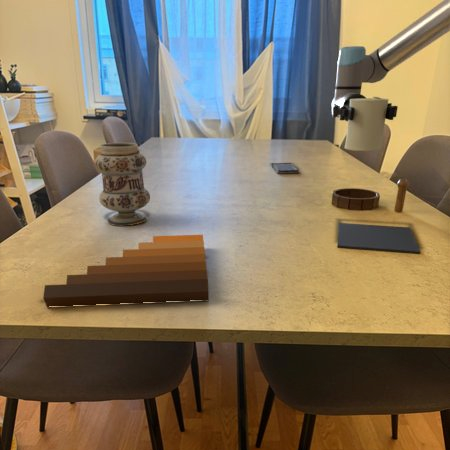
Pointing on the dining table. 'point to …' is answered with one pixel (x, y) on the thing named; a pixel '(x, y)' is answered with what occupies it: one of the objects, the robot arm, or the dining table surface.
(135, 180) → the apothecary jar
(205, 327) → the dining table surface
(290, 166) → the phone
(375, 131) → the can
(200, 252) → the pan flute
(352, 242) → the mat
